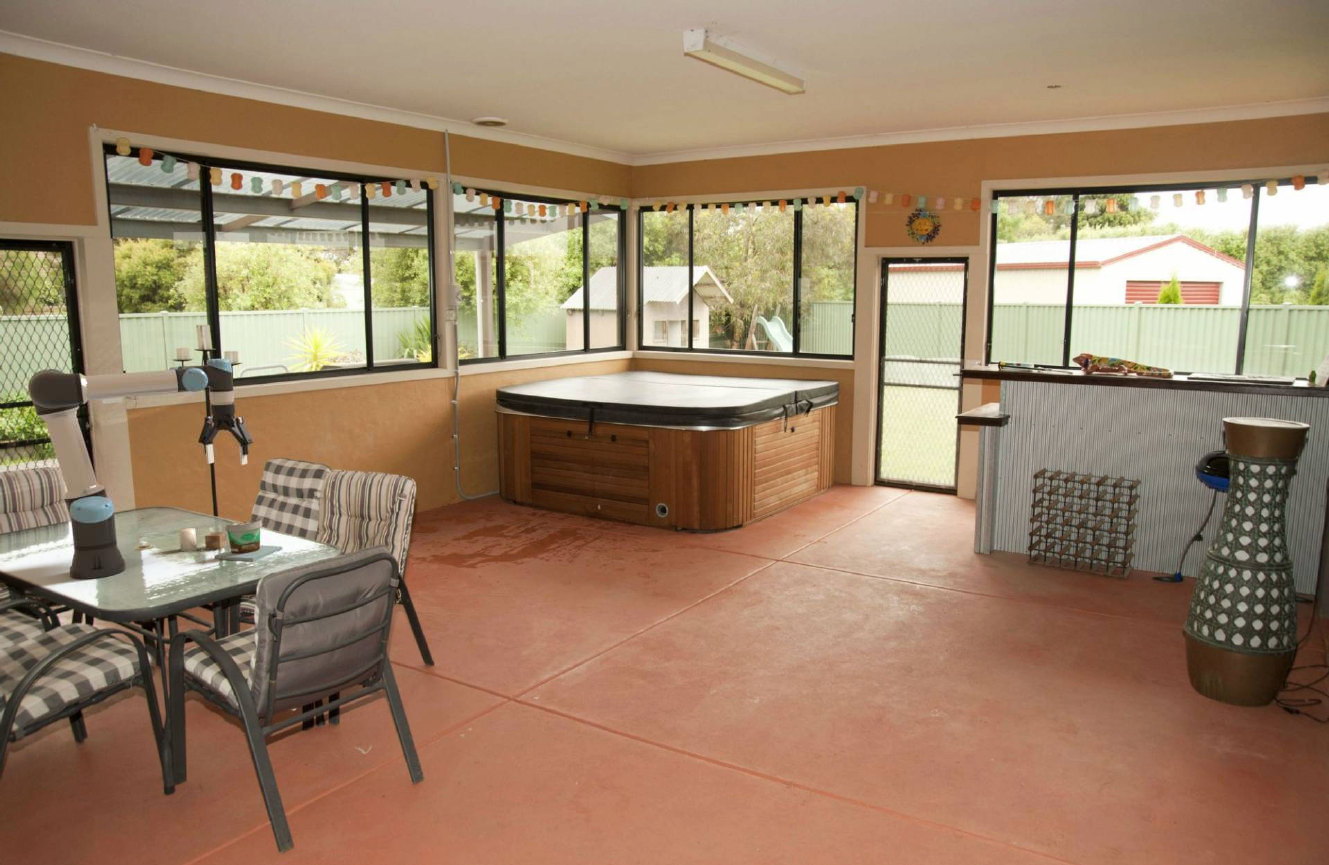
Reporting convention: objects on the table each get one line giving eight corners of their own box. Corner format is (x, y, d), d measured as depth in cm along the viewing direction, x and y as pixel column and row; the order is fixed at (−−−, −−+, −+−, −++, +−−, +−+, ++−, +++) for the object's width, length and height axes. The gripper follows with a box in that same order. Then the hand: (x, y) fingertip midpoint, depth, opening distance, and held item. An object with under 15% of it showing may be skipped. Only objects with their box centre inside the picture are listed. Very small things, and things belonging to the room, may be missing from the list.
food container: (236, 556, 308) (234, 527, 307) (227, 553, 312) (224, 524, 310) (271, 548, 318) (269, 520, 316) (261, 545, 321) (259, 517, 320)
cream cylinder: (177, 550, 320) (175, 531, 319) (188, 547, 325) (186, 527, 324) (189, 551, 319) (188, 531, 318) (200, 547, 324) (198, 528, 323)
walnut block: (206, 549, 321) (204, 535, 321) (212, 546, 326) (211, 532, 326) (220, 549, 321) (219, 535, 321) (227, 545, 326) (226, 532, 326)
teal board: (214, 558, 310) (214, 555, 309) (244, 547, 324) (244, 544, 324) (253, 561, 306) (253, 558, 306) (282, 549, 320) (282, 546, 320)
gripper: (260, 402, 323) (265, 462, 326) (199, 401, 329) (204, 460, 332) (246, 405, 316) (250, 466, 318) (184, 404, 321) (189, 464, 324)
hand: (227, 463), depth 325 cm, fingers open, 13 cm apart
